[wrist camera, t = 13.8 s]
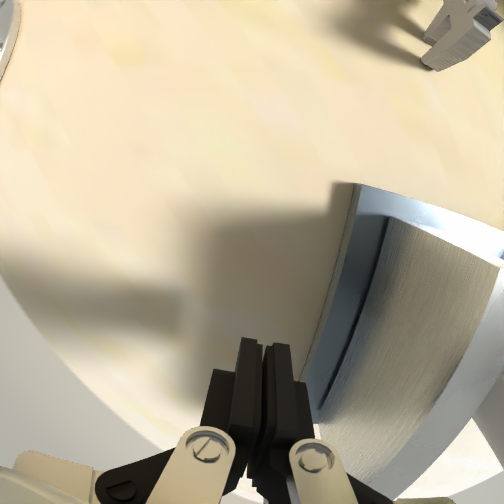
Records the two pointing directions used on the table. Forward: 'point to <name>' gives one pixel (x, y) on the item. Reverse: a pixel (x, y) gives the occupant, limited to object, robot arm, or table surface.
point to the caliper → (459, 31)
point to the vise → (372, 274)
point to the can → (493, 418)
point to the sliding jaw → (416, 356)
